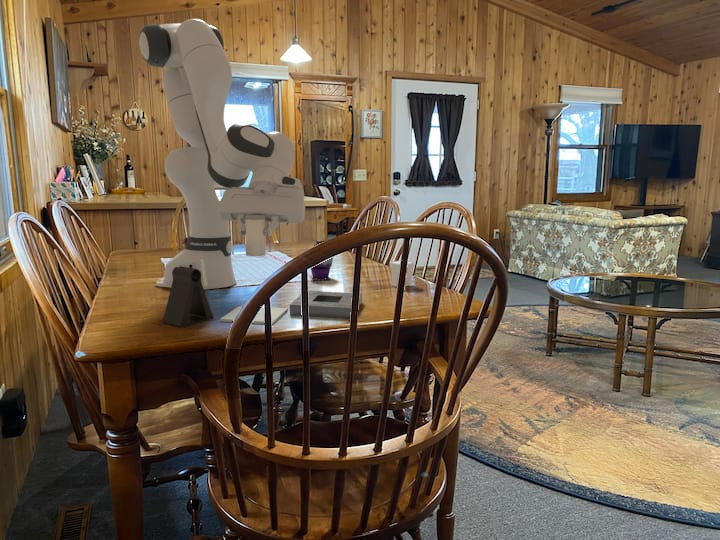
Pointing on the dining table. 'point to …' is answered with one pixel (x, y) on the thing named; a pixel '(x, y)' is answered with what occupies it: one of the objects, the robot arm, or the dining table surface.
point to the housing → (326, 304)
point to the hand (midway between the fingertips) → (254, 233)
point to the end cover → (255, 235)
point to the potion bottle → (322, 267)
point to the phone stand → (187, 299)
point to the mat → (260, 318)
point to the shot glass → (396, 270)
